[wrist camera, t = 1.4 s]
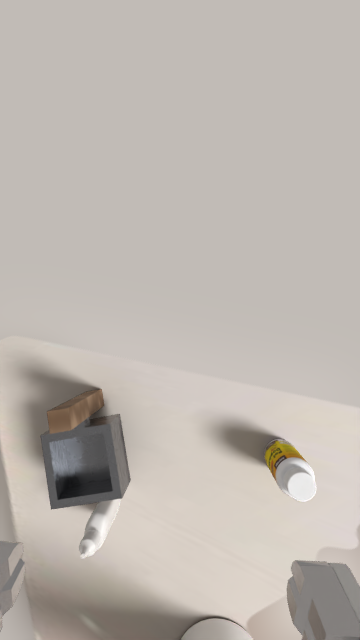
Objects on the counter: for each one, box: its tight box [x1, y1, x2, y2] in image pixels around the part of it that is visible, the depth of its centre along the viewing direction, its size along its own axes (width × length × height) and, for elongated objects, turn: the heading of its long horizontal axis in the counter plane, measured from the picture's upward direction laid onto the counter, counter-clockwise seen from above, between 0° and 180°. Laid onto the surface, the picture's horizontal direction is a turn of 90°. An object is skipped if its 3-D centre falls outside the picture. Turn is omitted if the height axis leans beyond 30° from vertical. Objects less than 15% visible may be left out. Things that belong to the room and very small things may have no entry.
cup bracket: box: [41, 389, 130, 509], centre depth 42 cm, size 15×11×13 cm
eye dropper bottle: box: [79, 499, 121, 559], centre depth 42 cm, size 4×6×12 cm
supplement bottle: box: [264, 439, 316, 502], centre depth 41 cm, size 6×6×10 cm
